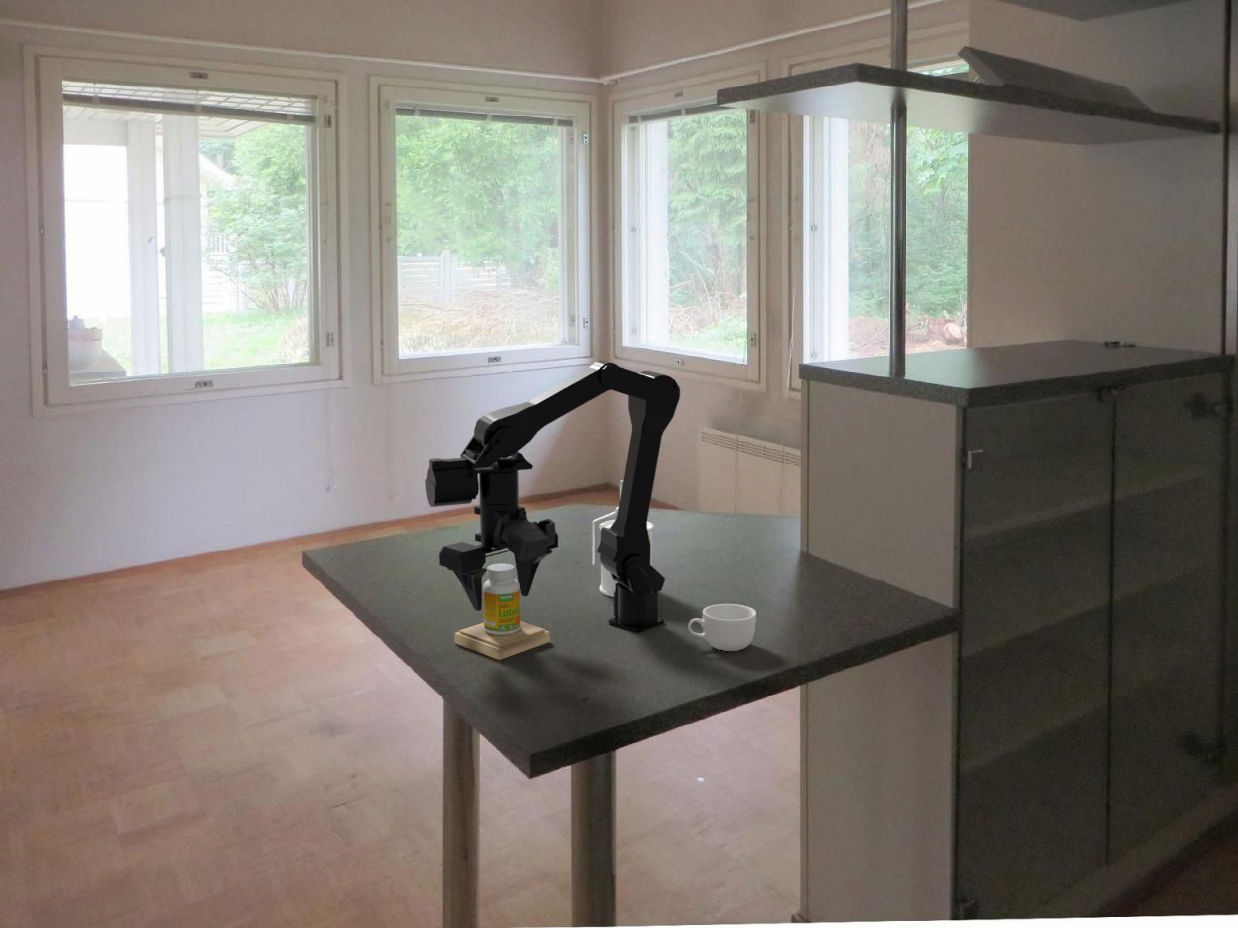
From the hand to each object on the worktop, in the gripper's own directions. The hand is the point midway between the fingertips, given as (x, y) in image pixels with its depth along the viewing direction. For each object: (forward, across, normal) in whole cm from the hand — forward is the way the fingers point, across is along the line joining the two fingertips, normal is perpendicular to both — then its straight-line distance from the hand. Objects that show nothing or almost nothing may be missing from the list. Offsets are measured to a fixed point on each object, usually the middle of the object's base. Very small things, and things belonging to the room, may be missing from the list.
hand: (501, 602), depth 165 cm
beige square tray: (+6, 0, 0) cm, 6 cm away
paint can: (+6, +31, +4) cm, 32 cm away
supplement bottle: (+4, 0, 0) cm, 4 cm away
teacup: (+6, +21, -25) cm, 33 cm away
